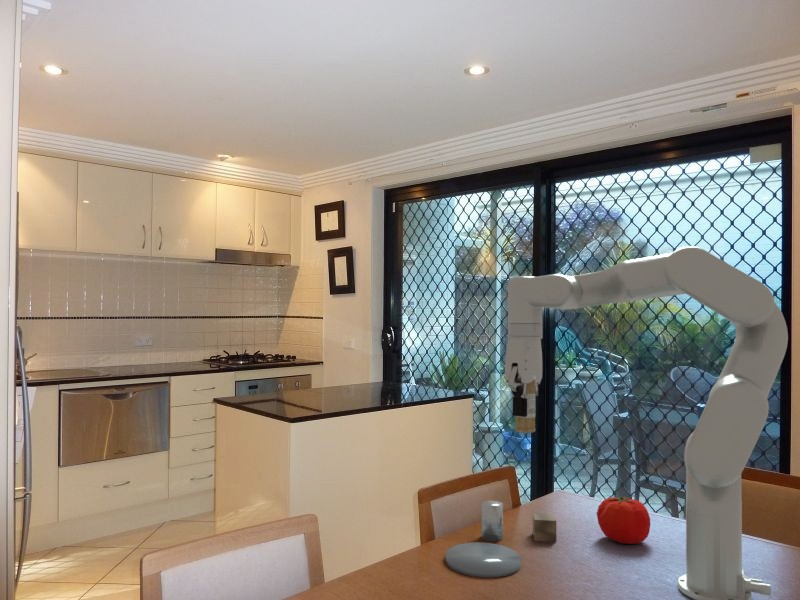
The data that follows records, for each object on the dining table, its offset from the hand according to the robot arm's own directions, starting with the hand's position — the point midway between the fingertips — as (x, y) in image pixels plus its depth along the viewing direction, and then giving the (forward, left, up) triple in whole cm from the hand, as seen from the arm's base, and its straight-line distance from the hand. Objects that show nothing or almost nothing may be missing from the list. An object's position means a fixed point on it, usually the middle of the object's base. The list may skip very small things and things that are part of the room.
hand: (525, 413), depth 135 cm
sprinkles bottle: (0, 0, -4) cm, 4 cm away
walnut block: (-1, -14, -31) cm, 34 cm away
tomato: (-18, -21, -31) cm, 42 cm away
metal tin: (+10, -8, -31) cm, 34 cm away
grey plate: (+7, +7, -31) cm, 33 cm away
